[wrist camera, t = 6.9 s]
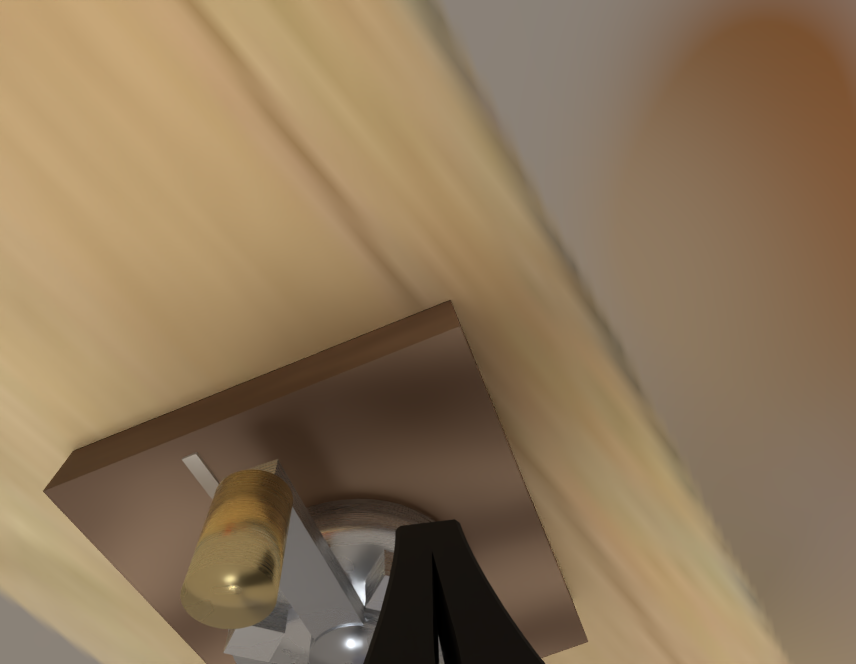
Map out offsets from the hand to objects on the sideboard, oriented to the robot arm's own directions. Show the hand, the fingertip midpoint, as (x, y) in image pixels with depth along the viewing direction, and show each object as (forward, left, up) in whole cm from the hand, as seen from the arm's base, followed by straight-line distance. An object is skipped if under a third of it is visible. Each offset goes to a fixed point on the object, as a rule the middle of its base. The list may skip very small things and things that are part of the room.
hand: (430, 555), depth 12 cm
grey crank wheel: (-4, +4, -5) cm, 8 cm away
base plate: (-6, +5, -8) cm, 11 cm away
